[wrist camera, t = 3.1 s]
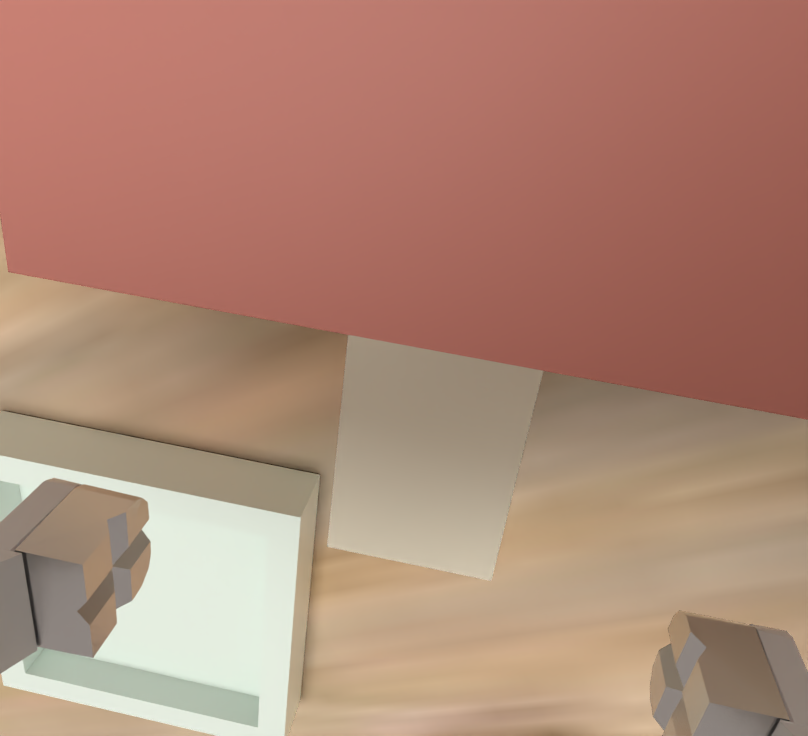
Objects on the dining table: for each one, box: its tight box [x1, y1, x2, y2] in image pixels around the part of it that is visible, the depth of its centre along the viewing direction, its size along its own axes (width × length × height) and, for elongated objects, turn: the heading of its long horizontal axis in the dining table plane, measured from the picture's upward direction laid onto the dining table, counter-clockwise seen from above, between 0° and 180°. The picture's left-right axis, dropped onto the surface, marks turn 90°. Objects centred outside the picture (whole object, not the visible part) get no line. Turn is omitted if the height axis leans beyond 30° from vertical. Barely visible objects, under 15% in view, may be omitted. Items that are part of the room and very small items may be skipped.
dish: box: [0, 411, 320, 736], centre depth 25 cm, size 11×11×2 cm
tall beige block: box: [327, 335, 543, 581], centre depth 17 cm, size 4×5×7 cm
